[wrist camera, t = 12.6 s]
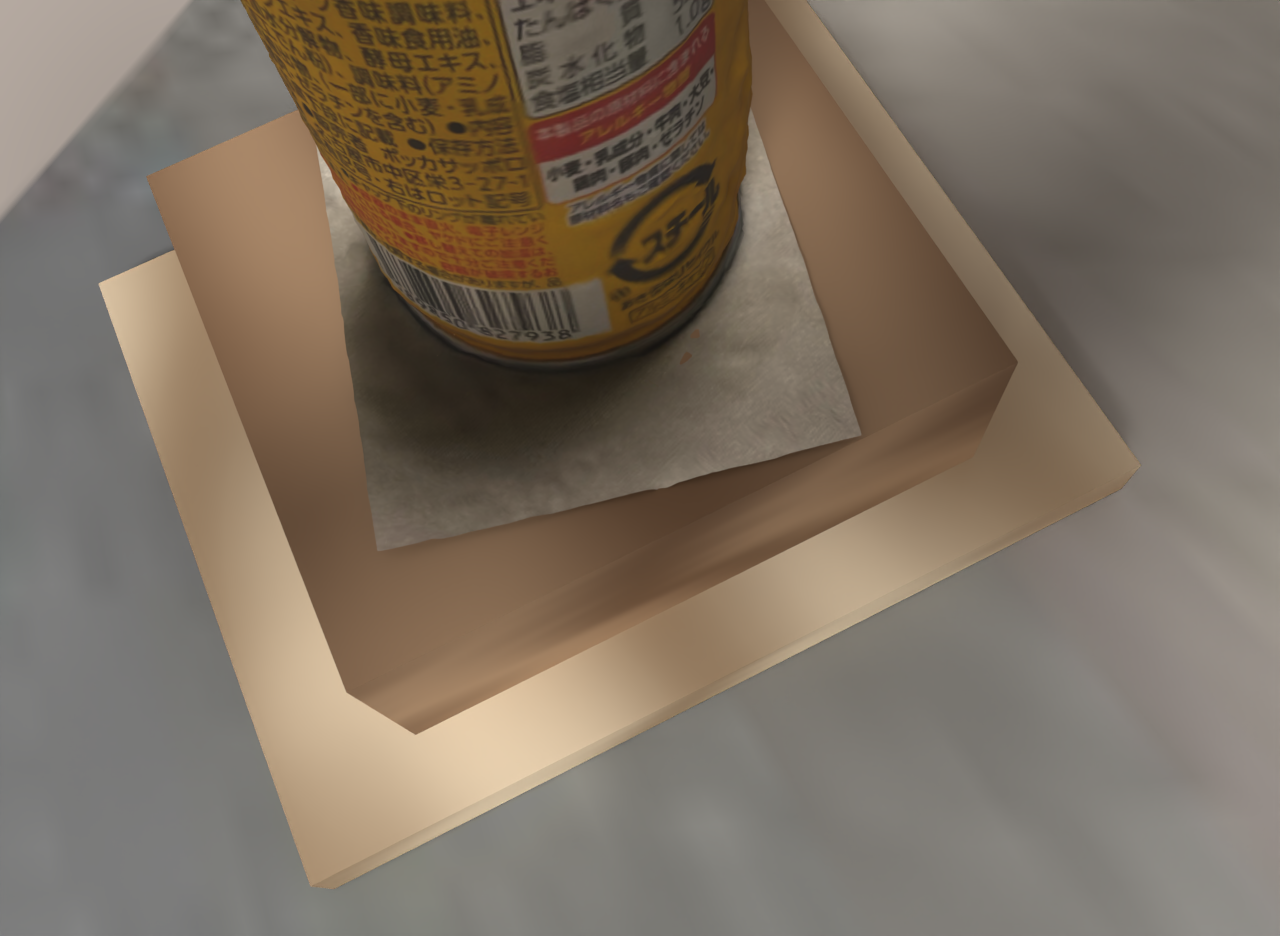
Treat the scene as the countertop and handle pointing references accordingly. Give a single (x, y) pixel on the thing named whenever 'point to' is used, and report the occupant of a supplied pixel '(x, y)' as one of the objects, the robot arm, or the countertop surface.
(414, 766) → the base board
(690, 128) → the condiment
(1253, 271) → the countertop surface
